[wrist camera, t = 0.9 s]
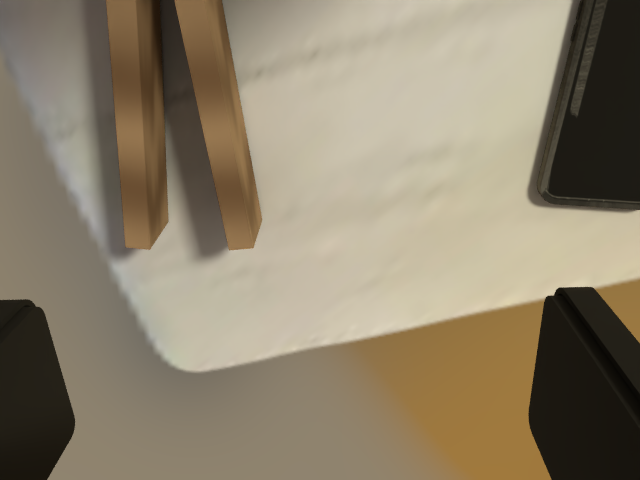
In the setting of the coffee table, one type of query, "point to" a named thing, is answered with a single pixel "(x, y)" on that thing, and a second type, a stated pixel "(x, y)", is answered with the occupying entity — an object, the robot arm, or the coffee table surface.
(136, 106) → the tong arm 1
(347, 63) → the coffee table surface
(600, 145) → the phone
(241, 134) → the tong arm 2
